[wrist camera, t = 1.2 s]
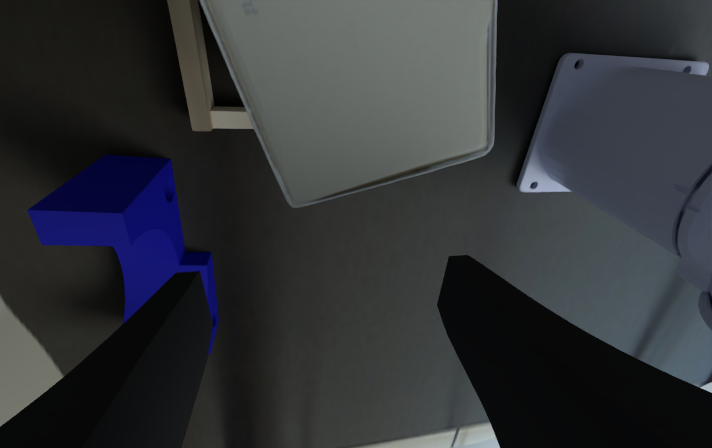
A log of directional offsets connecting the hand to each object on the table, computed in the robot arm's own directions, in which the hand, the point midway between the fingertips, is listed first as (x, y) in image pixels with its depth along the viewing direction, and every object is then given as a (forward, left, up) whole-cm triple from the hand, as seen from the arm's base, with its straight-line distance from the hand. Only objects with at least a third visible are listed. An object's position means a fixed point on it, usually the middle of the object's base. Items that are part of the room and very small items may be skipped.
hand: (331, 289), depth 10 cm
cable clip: (+9, +6, -11) cm, 15 cm away
